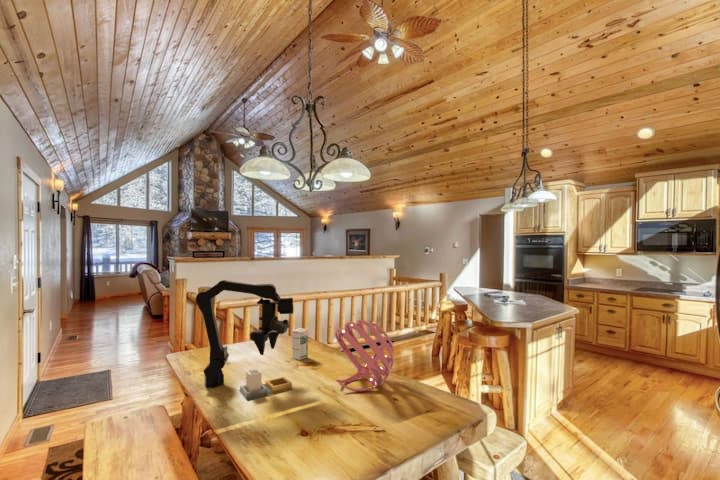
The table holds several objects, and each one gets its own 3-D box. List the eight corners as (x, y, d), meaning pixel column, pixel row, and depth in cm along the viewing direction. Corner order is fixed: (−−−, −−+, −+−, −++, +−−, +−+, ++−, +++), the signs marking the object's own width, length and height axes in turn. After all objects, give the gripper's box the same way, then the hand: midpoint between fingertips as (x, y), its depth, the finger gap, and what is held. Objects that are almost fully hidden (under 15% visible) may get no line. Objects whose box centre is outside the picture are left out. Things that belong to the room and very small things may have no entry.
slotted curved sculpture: (318, 350, 125) (373, 304, 135) (309, 348, 151) (356, 309, 161) (365, 413, 123) (417, 362, 133) (347, 400, 149) (392, 358, 159)
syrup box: (299, 360, 174) (299, 331, 174) (291, 358, 177) (291, 329, 178) (307, 357, 178) (308, 329, 179) (300, 355, 182) (300, 327, 182)
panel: (247, 403, 125) (247, 395, 125) (238, 392, 135) (238, 384, 135) (293, 392, 135) (294, 384, 135) (282, 382, 145) (282, 375, 145)
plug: (249, 396, 129) (249, 374, 129) (246, 392, 133) (246, 370, 133) (261, 393, 132) (261, 371, 132) (257, 389, 135) (257, 368, 135)
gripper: (275, 319, 134) (274, 360, 133) (295, 311, 152) (294, 347, 152) (250, 318, 136) (248, 357, 136) (272, 310, 154) (271, 345, 154)
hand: (267, 351), depth 144 cm, fingers open, 9 cm apart
